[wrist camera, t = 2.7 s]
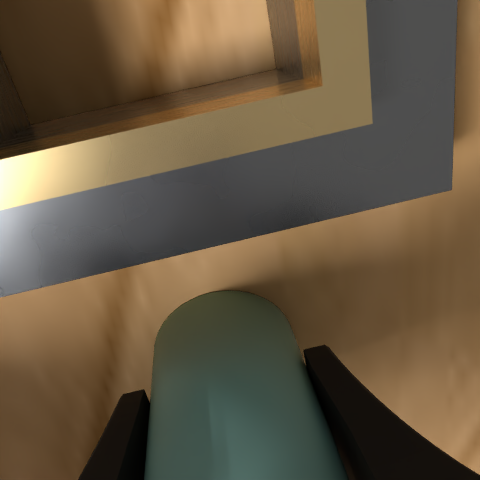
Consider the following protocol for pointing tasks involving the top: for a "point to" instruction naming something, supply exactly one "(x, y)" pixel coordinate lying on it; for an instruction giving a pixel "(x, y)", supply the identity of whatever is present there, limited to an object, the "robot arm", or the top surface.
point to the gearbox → (236, 146)
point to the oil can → (235, 397)
